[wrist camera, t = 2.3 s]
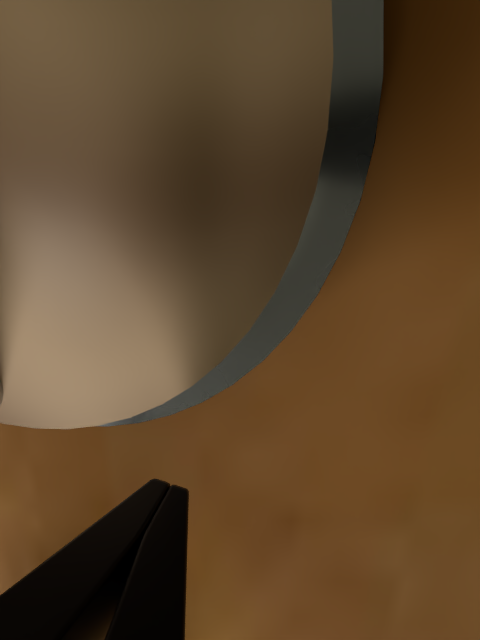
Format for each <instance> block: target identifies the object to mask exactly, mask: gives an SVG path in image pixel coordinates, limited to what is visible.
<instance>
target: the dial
mask: <svg viewBox="0 0 480 640" xmlns="http://www.w3.org/2000/svg"><path fill="white" fill-rule="evenodd" d="M332 69H333V30H332V0H0V423H3V424H10V425H16V426H23V427H30V428H43V429H72V428H82V427H91V426H99V425H103V424H107V423H111V422H115V421H119V420H123V419H127V418H131V417H133V416H136V415H138V414H140V413H143V412H145V411H148V410H150V409H152V408H155V407H157V406H160V405H162V404H164V403H165V402H167V401H168V400H170V399H172V398H173V397H175V396H177V395H178V394H180V393H182V392H183V391H185V390H187V389H188V388H190V387H192V386H193V385H194V384H195V383H197V382H198V381H199V380H200V379H201V378H203V377H204V376H205V375H206V374H207V373H209V372H210V371H211V370H212V369H213V368H215V367H216V366H217V365H218V364H219V363H221V362H222V361H223V359H224V358H225V357H226V356H227V355H228V354H229V353H230V352H231V351H232V349H233V348H234V347H235V346H236V345H237V344H238V343H239V342H240V340H241V339H242V338H243V337H244V336H245V335H246V334H247V333H248V331H249V330H250V329H251V327H252V326H253V324H254V323H255V321H256V320H257V318H258V317H259V315H260V314H261V312H262V311H263V309H264V308H265V306H266V305H267V303H268V302H269V300H270V299H271V297H272V296H273V294H274V293H275V291H276V289H277V287H278V284H279V282H280V280H281V278H282V276H283V274H284V272H285V270H286V268H287V266H288V264H289V262H290V260H291V258H292V256H293V253H294V251H295V249H296V247H297V245H298V242H299V239H300V236H301V233H302V230H303V227H304V224H305V221H306V218H307V215H308V212H309V209H310V206H311V203H312V200H313V197H314V194H315V191H316V186H317V181H318V176H319V171H320V166H321V162H322V157H323V152H324V147H325V142H326V136H327V130H328V119H329V106H330V94H331V82H332Z"/></svg>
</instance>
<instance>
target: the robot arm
mask: <svg viewBox="0 0 480 640" xmlns="http://www.w3.org/2000/svg"><path fill="white" fill-rule="evenodd" d="M188 502H189V491H188V489H186V488H183V487H180V486H177V485H171V486H170V484H169V483H168V482H165V481H162V480H159V479H152V480H150V481H149V482H148V483H146V484H145V485H144V486H142V487H141V488H140V489H139V490H137V491H136V492H135V493H133V494H132V495H131V496H129V497H128V498H127V499H125V500H124V501H123V502H122V503H120V504H119V505H118V506H116V507H115V508H114V509H112V510H111V511H110V512H108V513H107V514H106V515H105V516H103V517H102V518H101V519H99V520H98V521H97V522H95V523H94V524H93V525H92V526H90V527H89V528H88V529H86V530H85V531H84V532H82V533H81V534H80V535H78V536H77V537H76V538H75V539H73V540H72V541H71V542H69V543H68V544H67V545H65V546H64V547H63V548H62V549H60V550H59V551H58V552H56V553H55V554H54V555H52V556H51V557H50V558H48V559H47V560H46V561H45V562H43V563H42V564H41V565H39V566H38V567H37V568H35V569H34V570H33V571H31V572H30V573H29V574H28V575H26V576H25V577H24V578H22V579H21V580H20V581H18V582H17V583H16V584H15V585H13V586H12V587H11V588H9V589H8V590H7V591H5V592H4V593H3V594H1V595H0V640H185V608H186V573H187V537H188Z"/></svg>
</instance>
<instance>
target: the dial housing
mask: <svg viewBox="0 0 480 640" xmlns="http://www.w3.org/2000/svg"><path fill="white" fill-rule="evenodd" d="M383 11H384V1H383V0H332V30H333V69H332V82H331V94H330V106H329V119H328V130H327V136H326V142H325V147H324V152H323V157H322V162H321V166H320V171H319V176H318V181H317V186H316V191H315V194H314V197H313V200H312V203H311V206H310V209H309V212H308V215H307V218H306V221H305V224H304V227H303V230H302V233H301V236H300V239H299V242H298V245H297V247H296V249H295V251H294V253H293V256H292V258H291V260H290V262H289V264H288V266H287V268H286V270H285V272H284V274H283V276H282V278H281V280H280V282H279V284H278V287H277V289H276V291H275V293H274V294H273V296H272V297H271V299H270V300H269V302H268V303H267V305H266V306H265V308H264V309H263V311H262V312H261V314H260V315H259V317H258V318H257V320H256V321H255V323H254V324H253V326H252V327H251V329H250V330H249V331H248V333H247V334H246V335H245V336H244V337H243V338H242V339H241V340H240V342H239V343H238V344H237V345H236V346H235V347H234V348H233V349H232V351H231V352H230V353H229V354H228V355H227V356H226V357H225V358H224V359H223V361H222V362H221V363H219V364H218V365H217V366H216V367H215V368H213V369H212V370H211V371H210V372H209V373H207V374H206V375H205V376H204V377H203V378H201V379H200V380H199V381H198V382H197V383H195V384H194V385H193V386H192V387H190V388H188V389H187V390H185V391H183V392H182V393H180V394H178V395H177V396H175V397H173V398H172V399H170V400H168V401H167V402H165V403H164V404H162V405H160V406H157V407H155V408H152V409H150V410H148V411H145V412H143V413H140V414H138V415H136V416H133V417H131V418H127V419H123V420H119V421H115V422H111V423H107V424H103V425H99V426H114V425H124V424H133V423H140V422H144V421H148V420H152V419H156V418H160V417H164V416H169V415H172V414H174V413H177V412H179V411H182V410H184V409H187V408H189V407H192V406H194V405H197V404H199V403H202V402H203V401H205V400H207V399H209V398H210V397H212V396H214V395H215V394H217V393H219V392H221V391H222V390H224V389H226V388H228V387H229V386H231V385H233V384H234V383H235V382H237V381H238V380H239V379H240V378H242V377H243V376H244V375H245V374H247V373H248V372H249V371H251V370H252V369H253V368H254V367H256V366H257V365H258V364H259V363H261V362H262V361H263V360H264V359H265V358H266V357H267V356H268V355H269V354H270V353H271V352H272V351H273V350H274V349H275V348H276V347H277V345H278V344H279V343H280V342H281V341H282V340H283V339H284V338H285V337H286V336H287V335H288V334H289V333H290V332H291V331H292V329H293V328H294V327H295V325H296V324H297V322H298V321H299V320H300V318H301V317H302V315H303V314H304V313H305V311H306V310H307V309H308V307H309V306H310V304H311V303H312V302H313V300H314V299H315V298H316V296H317V295H318V293H319V291H320V289H321V287H322V285H323V284H324V282H325V280H326V278H327V276H328V274H329V272H330V271H331V269H332V267H333V265H334V263H335V261H336V259H337V258H338V256H339V254H340V252H341V250H342V247H343V244H344V242H345V239H346V237H347V234H348V231H349V229H350V226H351V223H352V221H353V218H354V216H355V213H356V210H357V208H358V205H359V203H360V200H361V196H362V192H363V188H364V184H365V180H366V176H367V172H368V168H369V163H370V159H371V155H372V151H373V147H374V143H375V137H376V129H377V121H378V113H379V105H380V97H381V88H382V80H383Z"/></svg>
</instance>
